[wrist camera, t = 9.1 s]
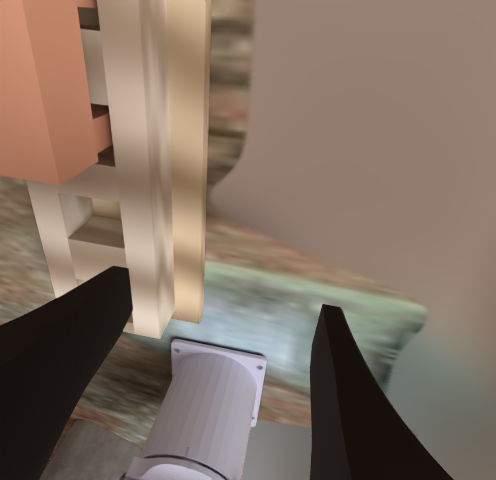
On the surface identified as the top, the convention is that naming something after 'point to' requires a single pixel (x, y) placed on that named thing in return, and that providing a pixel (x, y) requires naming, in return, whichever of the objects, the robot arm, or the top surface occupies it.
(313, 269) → the top surface
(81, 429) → the hip flask
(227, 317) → the top surface
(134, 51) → the cream wooden flat frame
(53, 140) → the clip
